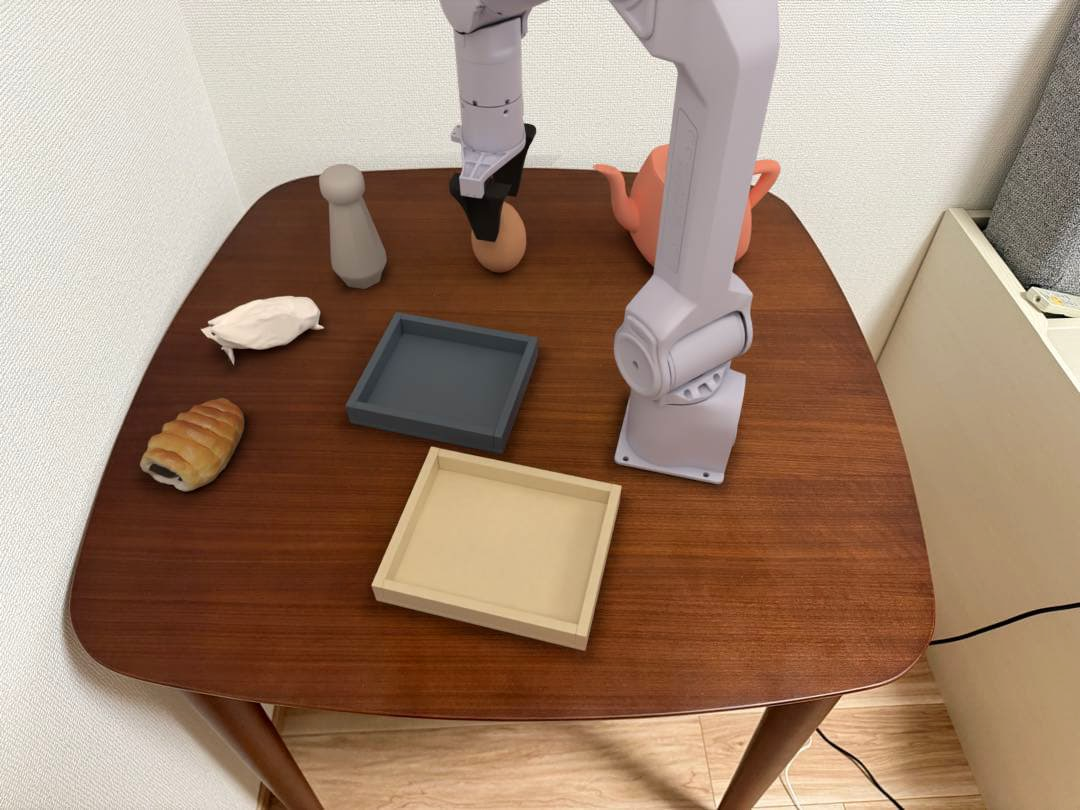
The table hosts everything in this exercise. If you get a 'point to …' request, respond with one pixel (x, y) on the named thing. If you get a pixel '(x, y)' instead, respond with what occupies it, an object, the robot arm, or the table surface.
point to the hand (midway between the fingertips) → (497, 215)
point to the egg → (503, 243)
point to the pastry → (195, 445)
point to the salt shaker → (351, 228)
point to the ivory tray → (501, 547)
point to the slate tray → (445, 382)
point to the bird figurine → (264, 323)
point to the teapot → (648, 194)
